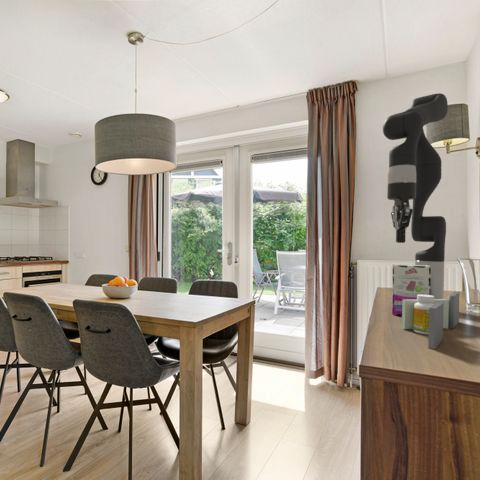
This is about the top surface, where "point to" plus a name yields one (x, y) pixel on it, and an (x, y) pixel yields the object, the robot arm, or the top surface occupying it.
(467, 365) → the top surface
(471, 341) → the top surface
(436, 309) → the door frame
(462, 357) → the top surface
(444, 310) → the door
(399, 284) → the candy bar box
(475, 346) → the top surface
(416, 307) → the supplement bottle
